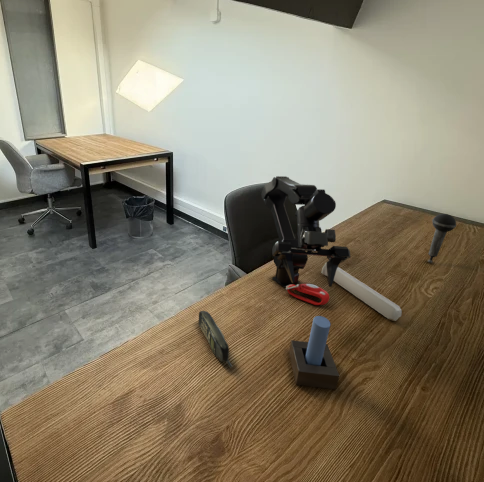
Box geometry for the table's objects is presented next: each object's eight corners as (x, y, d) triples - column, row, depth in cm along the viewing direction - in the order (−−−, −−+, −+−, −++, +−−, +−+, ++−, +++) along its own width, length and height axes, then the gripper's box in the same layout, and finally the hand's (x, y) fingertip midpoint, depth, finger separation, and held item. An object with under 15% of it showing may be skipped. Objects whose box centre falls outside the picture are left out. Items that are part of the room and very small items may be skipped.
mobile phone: (196, 310, 79) (224, 354, 66) (207, 307, 80) (236, 350, 67) (196, 325, 81) (223, 371, 68) (206, 322, 82) (234, 367, 69)
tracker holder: (310, 280, 100) (337, 291, 91) (308, 293, 100) (334, 306, 91) (283, 280, 94) (308, 292, 85) (280, 294, 94) (305, 308, 85)
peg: (300, 370, 69) (311, 321, 64) (306, 361, 71) (316, 313, 67) (315, 379, 67) (327, 330, 62) (320, 369, 69) (332, 321, 65)
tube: (409, 308, 84) (335, 261, 105) (399, 308, 81) (325, 260, 102) (400, 324, 85) (328, 275, 106) (390, 325, 82) (319, 274, 103)
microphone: (421, 265, 113) (438, 216, 106) (416, 256, 119) (432, 209, 112) (443, 269, 110) (462, 220, 104) (437, 260, 116) (455, 212, 110)
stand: (288, 352, 73) (291, 340, 72) (324, 356, 73) (327, 344, 71) (295, 384, 66) (298, 371, 64) (335, 389, 65) (339, 376, 64)
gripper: (279, 213, 77) (280, 275, 70) (356, 219, 75) (364, 283, 69) (271, 227, 87) (272, 283, 80) (339, 232, 85) (344, 290, 79)
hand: (311, 284), depth 77 cm, fingers open, 9 cm apart
